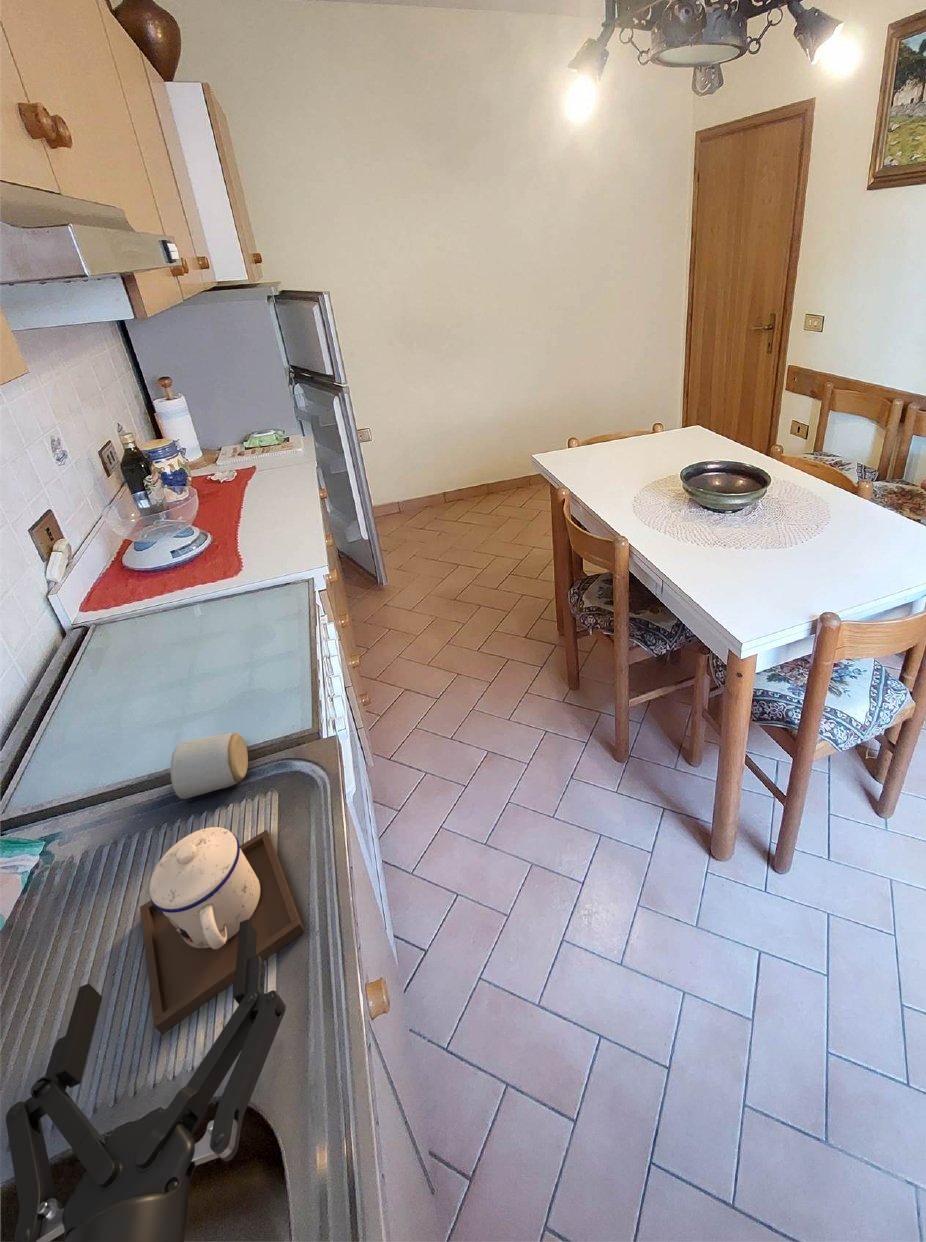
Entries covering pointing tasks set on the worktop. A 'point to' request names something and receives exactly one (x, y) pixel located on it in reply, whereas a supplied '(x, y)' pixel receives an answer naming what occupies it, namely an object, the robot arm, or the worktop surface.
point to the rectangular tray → (203, 973)
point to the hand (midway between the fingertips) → (172, 958)
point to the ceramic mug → (208, 764)
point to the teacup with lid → (205, 887)
